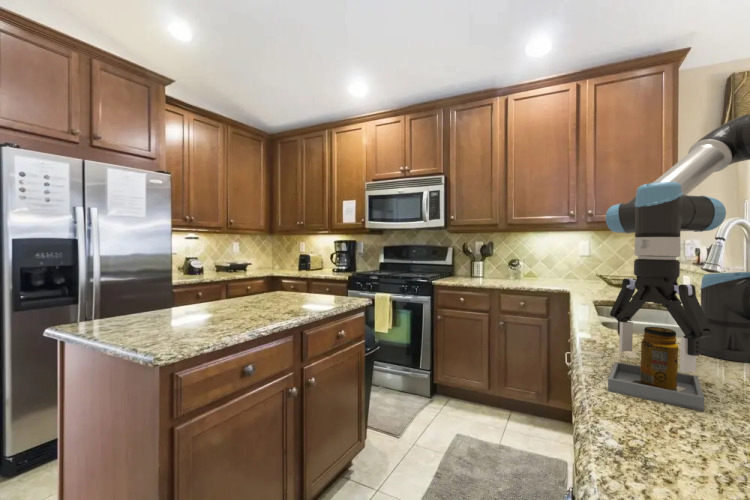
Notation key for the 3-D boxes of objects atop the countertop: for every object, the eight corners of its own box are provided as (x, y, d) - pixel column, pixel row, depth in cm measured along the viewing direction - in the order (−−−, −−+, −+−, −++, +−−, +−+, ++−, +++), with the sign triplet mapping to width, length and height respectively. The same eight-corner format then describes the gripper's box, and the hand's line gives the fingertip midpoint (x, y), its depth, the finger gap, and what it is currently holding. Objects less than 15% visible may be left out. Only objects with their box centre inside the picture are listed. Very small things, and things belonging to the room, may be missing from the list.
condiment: (685, 389, 74) (687, 330, 74) (667, 397, 70) (669, 335, 70) (644, 377, 81) (646, 323, 80) (625, 384, 76) (627, 327, 76)
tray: (614, 372, 86) (615, 361, 86) (697, 387, 77) (697, 375, 77) (607, 390, 74) (608, 378, 74) (703, 411, 65) (704, 397, 65)
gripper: (593, 256, 87) (591, 344, 87) (707, 260, 62) (704, 383, 63) (620, 256, 88) (618, 343, 89) (741, 260, 64) (738, 381, 64)
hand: (654, 360), depth 76 cm, fingers open, 13 cm apart
